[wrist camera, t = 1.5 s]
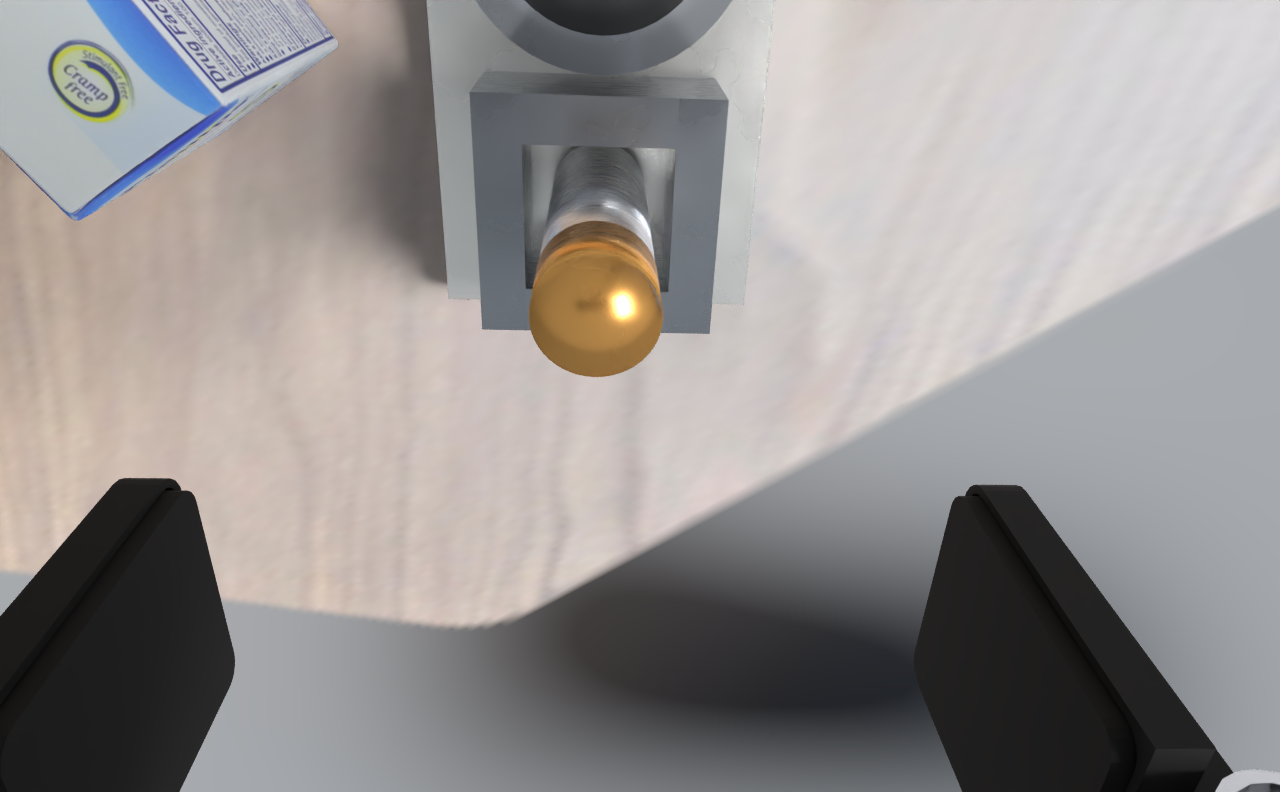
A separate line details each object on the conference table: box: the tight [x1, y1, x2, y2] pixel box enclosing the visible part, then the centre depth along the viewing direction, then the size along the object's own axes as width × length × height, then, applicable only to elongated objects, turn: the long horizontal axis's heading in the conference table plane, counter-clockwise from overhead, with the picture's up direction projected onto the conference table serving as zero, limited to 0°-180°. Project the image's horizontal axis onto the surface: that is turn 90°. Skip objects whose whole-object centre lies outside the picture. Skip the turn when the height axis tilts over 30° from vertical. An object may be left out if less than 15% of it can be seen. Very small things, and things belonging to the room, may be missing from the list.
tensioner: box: [426, 0, 775, 334], centre depth 23 cm, size 14×9×4 cm, turn 178°
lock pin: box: [529, 146, 663, 377], centre depth 21 cm, size 3×3×9 cm
